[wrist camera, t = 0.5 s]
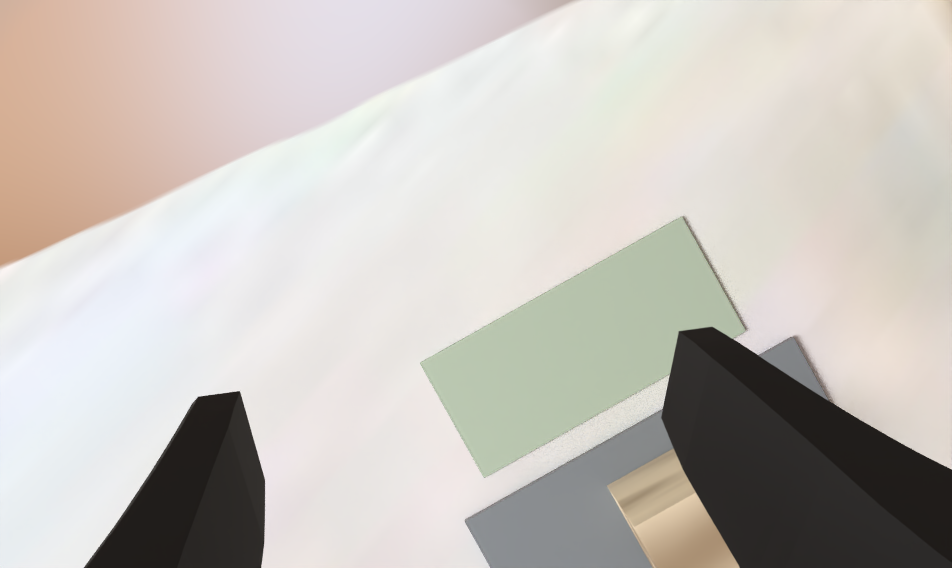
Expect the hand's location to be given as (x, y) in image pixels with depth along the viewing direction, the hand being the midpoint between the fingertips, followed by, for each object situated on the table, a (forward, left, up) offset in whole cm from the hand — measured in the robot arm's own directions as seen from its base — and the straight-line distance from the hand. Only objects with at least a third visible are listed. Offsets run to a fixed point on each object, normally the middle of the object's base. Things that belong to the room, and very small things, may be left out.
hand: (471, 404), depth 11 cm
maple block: (-14, -4, -24) cm, 28 cm away
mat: (-4, -4, -25) cm, 25 cm away
